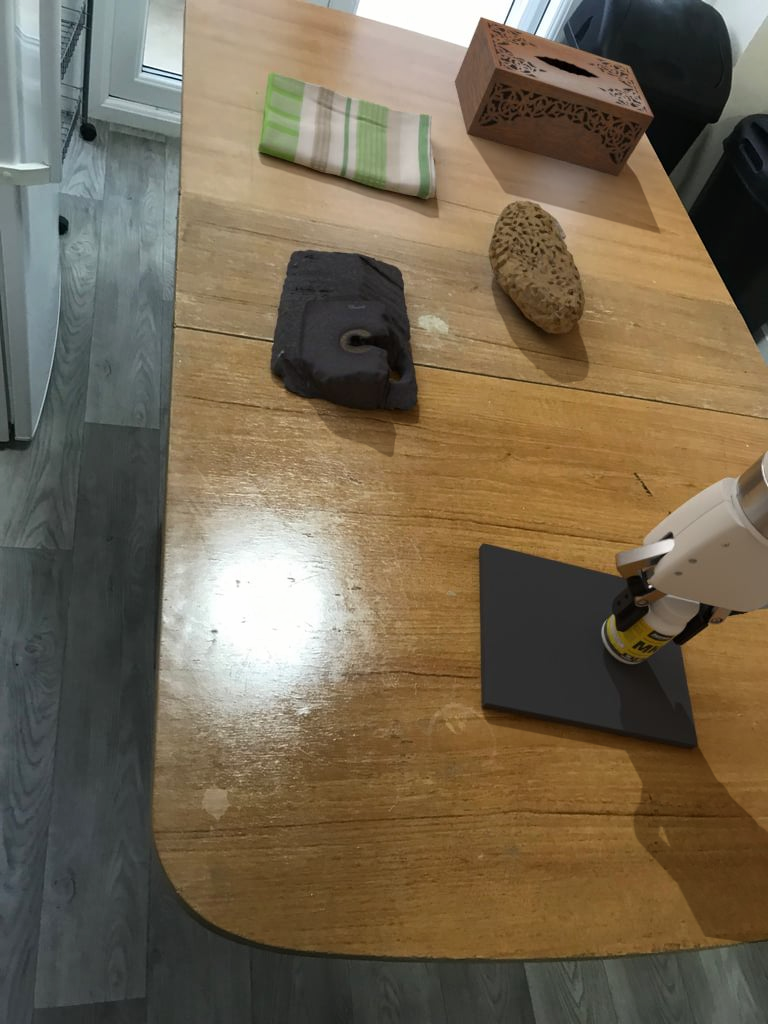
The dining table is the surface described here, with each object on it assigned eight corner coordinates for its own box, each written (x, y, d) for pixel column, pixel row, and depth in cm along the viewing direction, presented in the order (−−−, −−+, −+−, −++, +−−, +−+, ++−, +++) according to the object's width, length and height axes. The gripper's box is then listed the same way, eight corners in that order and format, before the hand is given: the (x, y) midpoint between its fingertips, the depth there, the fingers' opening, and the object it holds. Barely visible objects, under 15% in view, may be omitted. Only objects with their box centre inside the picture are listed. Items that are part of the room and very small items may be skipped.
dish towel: (432, 206, 109) (442, 183, 106) (256, 156, 103) (262, 130, 100) (425, 134, 119) (434, 111, 116) (265, 85, 113) (270, 59, 110)
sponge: (479, 232, 111) (471, 294, 96) (515, 182, 107) (513, 238, 91) (558, 287, 115) (562, 355, 99) (596, 240, 110) (607, 304, 94)
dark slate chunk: (413, 286, 98) (427, 253, 95) (413, 425, 85) (430, 393, 81) (285, 249, 94) (295, 214, 91) (265, 388, 81) (276, 354, 78)
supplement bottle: (614, 669, 73) (670, 625, 67) (591, 621, 75) (643, 574, 69) (656, 660, 75) (714, 617, 69) (632, 614, 77) (686, 567, 71)
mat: (664, 593, 83) (670, 588, 82) (691, 749, 73) (698, 745, 73) (478, 548, 79) (482, 542, 78) (481, 708, 69) (486, 703, 68)
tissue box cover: (467, 133, 123) (495, 67, 116) (454, 81, 131) (480, 16, 124) (617, 176, 131) (654, 117, 123) (597, 124, 139) (630, 66, 132)
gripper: (875, 490, 63) (722, 606, 77) (676, 432, 59) (554, 565, 73) (907, 575, 58) (738, 682, 72) (694, 518, 54) (560, 642, 68)
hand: (647, 622), depth 72 cm, fingers closed on supplement bottle, 4 cm apart
